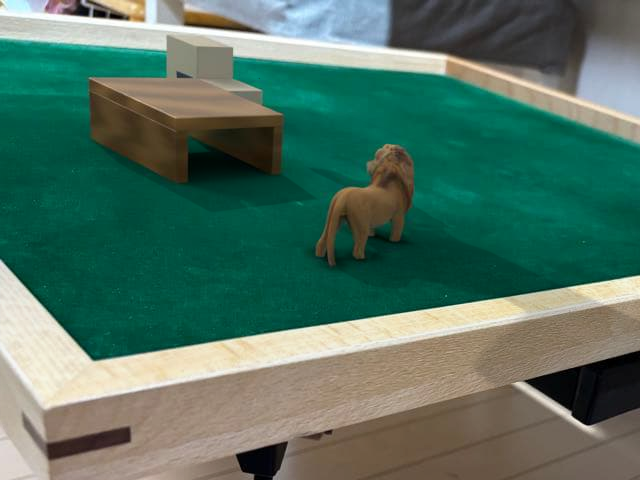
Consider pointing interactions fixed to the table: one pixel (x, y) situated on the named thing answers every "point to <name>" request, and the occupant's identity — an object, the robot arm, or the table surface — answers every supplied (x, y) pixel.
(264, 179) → the table surface
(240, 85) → the grey stepped block
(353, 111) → the table surface
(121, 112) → the low wooden table
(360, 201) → the lion figurine
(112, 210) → the table surface
